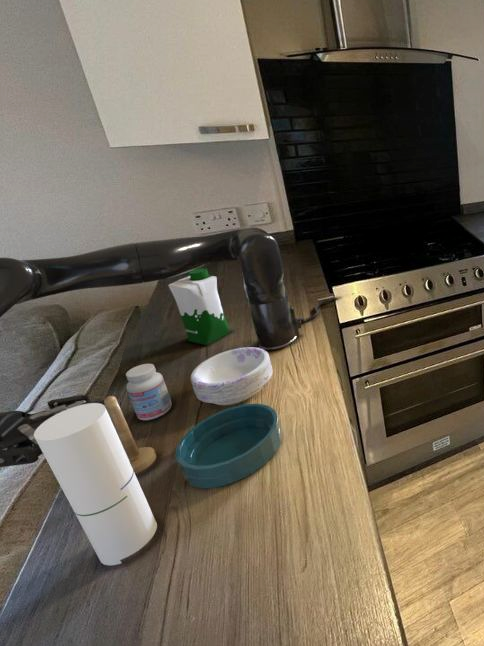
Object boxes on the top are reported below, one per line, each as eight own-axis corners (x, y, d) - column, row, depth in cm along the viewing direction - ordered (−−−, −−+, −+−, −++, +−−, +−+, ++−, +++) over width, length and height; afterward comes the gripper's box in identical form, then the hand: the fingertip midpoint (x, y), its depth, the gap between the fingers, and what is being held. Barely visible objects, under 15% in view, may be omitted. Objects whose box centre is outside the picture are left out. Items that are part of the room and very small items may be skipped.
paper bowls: (280, 366, 113) (273, 340, 110) (269, 405, 100) (261, 376, 97) (210, 379, 108) (201, 352, 105) (189, 422, 95) (179, 393, 92)
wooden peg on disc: (150, 450, 88) (122, 383, 82) (162, 462, 85) (134, 393, 79) (114, 470, 83) (81, 400, 77) (126, 483, 80) (93, 412, 74)
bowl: (255, 413, 97) (250, 393, 95) (299, 443, 89) (294, 422, 87) (168, 466, 84) (159, 444, 82) (210, 506, 76) (202, 483, 74)
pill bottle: (131, 423, 94) (114, 381, 90) (147, 404, 100) (131, 363, 96) (165, 418, 96) (148, 376, 92) (178, 399, 101) (163, 359, 97)
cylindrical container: (169, 520, 74) (119, 402, 65) (134, 564, 67) (72, 439, 58) (125, 521, 74) (69, 403, 65) (86, 566, 67) (17, 441, 58)
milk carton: (235, 331, 128) (218, 269, 121) (205, 348, 120) (184, 283, 113) (213, 326, 131) (194, 265, 124) (182, 342, 123) (160, 278, 115)
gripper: (-72, 453, 67) (56, 434, 71) (7, 392, 80) (112, 379, 84) (-49, 488, 70) (73, 469, 74) (24, 424, 83) (125, 410, 87)
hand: (94, 421), depth 79 cm, fingers open, 8 cm apart
